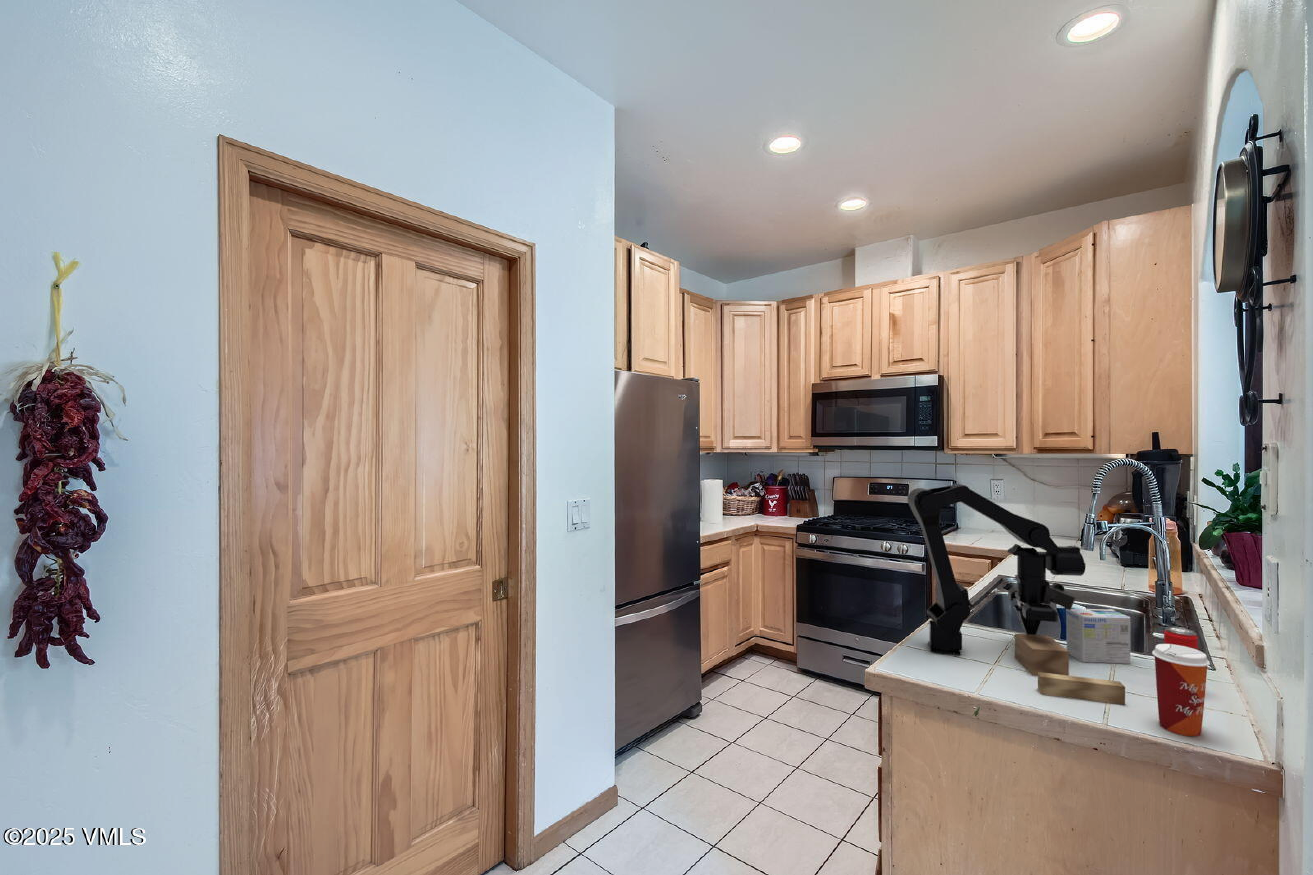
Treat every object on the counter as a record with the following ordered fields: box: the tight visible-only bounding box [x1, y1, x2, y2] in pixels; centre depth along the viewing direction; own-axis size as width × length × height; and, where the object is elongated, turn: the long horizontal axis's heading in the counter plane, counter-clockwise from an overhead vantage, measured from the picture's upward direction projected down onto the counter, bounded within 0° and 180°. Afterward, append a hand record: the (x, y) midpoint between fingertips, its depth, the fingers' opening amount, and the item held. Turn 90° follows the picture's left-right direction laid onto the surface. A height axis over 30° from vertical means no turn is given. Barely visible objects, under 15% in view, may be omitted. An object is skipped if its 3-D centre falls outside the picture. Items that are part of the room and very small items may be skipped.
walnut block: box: [1014, 632, 1070, 677], centre depth 132 cm, size 7×10×6 cm
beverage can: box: [1163, 626, 1199, 650], centre depth 121 cm, size 5×5×12 cm
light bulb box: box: [1065, 608, 1131, 664], centre depth 138 cm, size 11×7×11 cm, turn 84°
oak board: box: [1037, 672, 1126, 705], centre depth 118 cm, size 14×2×4 cm, turn 70°
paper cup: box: [1151, 643, 1211, 738], centre depth 105 cm, size 8×8×14 cm
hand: (1031, 639), depth 140 cm, fingers closed
